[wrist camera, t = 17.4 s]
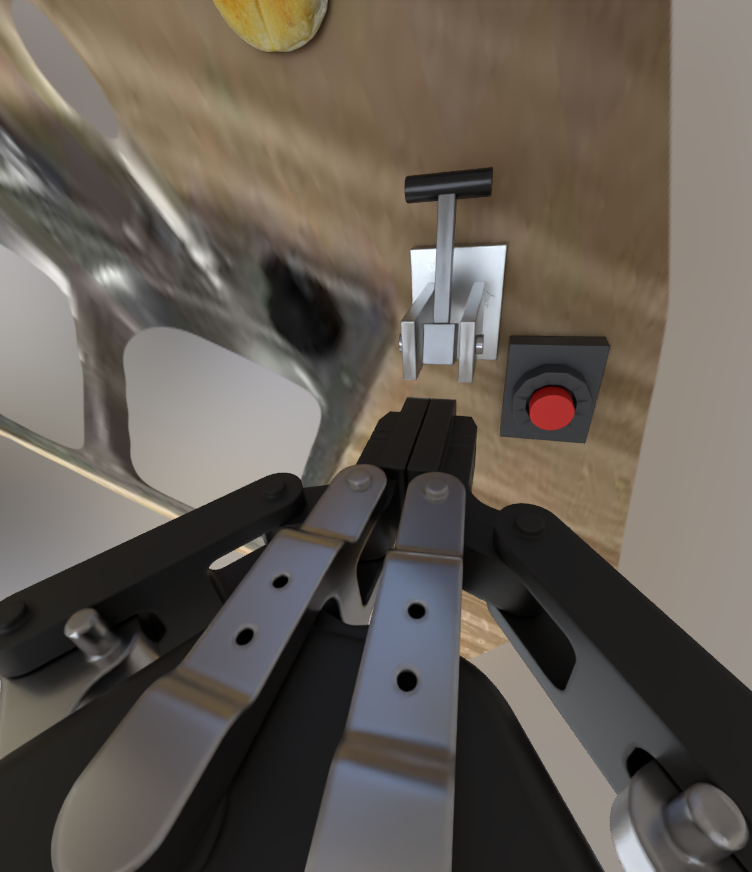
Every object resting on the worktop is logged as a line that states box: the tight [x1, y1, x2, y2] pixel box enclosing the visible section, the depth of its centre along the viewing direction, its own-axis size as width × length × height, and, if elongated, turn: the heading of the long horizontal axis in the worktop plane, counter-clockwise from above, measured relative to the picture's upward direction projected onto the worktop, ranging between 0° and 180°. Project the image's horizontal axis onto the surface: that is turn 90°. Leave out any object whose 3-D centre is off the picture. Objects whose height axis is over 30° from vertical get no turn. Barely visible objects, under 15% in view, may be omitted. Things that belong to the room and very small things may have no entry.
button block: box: [500, 336, 610, 443], centre depth 36 cm, size 10×8×4 cm
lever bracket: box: [399, 242, 507, 383], centre depth 31 cm, size 10×8×12 cm
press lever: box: [405, 167, 493, 365], centre depth 27 cm, size 12×6×2 cm, turn 5°
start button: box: [529, 386, 575, 430], centre depth 34 cm, size 4×4×2 cm
